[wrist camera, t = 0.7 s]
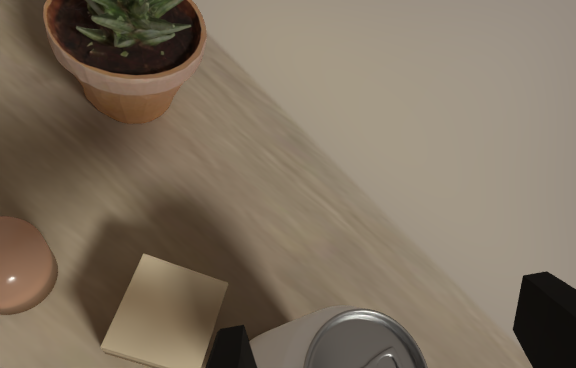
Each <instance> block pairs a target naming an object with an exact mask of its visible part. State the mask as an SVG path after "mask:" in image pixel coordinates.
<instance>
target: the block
mask: <svg viewBox="0 0 576 368" xmlns="http://www.w3.org/2000/svg"><path fill="white" fill-rule="evenodd" d="M228 284H229V283H227V282H224V281H222V280H219V279H216V278H213V277H210V276H207V275H204V274H201V273H199V272H196V271H193V270H190V269H187V268H184V267H181V266H178V265H176V264H173V263H170V262H167V261H164V260H161V259H158V258H155V257H152V256H150V255H147V254H144V253H143V256H142V258H141V260H140V262H139V264H138V267H137V269H136V271H135V273H134V275H133V277H132V280H131V282H130V284H129V286H128V288H127V290H126V293H125V295H124V297H123V299H122V301H121V303H120V306H119V308H118V310H117V312H116V314H115V316H114V319H113V321H112V323H111V325H110V327H109V330H108V332H107V334H106V336H105V338H104V340H103V343H102V345H101V349H102V350H103V351H104V353H105V354H109V355H112V356H115V357H119V358H122V359H126V360H129V361H132V362H136V363H139V364H142V365H146V366H149V367H152V368H201V366H202V363H203V360H204V357H205V354H206V351H207V348H208V344H209V341H210V338H211V335H212V332H213V329H214V326H215V323H216V320H217V317H218V314H219V311H220V308H221V305H222V302H223V299H224V296H225V293H226V290H227V287H228Z"/></svg>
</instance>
